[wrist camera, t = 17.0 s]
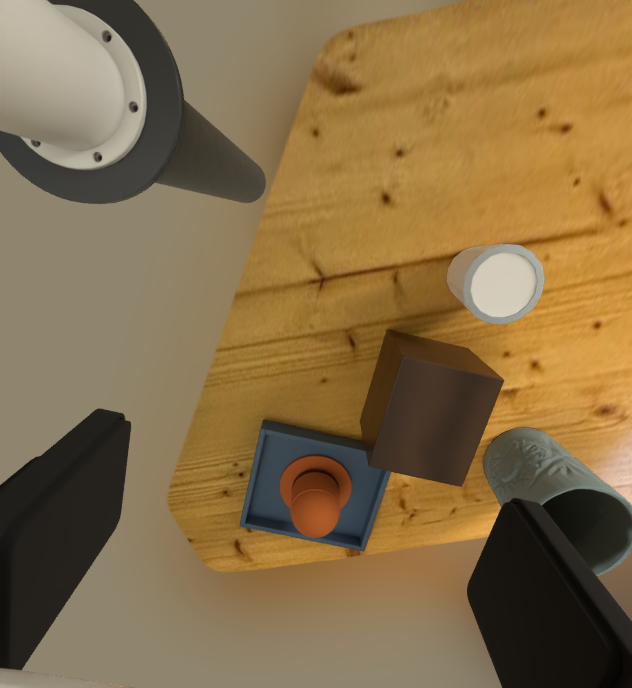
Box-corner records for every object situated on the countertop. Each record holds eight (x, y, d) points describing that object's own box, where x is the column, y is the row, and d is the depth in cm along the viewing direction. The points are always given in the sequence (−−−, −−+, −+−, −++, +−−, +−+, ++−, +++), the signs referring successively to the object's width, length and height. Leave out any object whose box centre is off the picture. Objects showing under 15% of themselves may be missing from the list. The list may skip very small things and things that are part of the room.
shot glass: (438, 245, 40) (461, 250, 34) (508, 235, 40) (546, 238, 33) (441, 312, 42) (464, 329, 36) (509, 303, 42) (544, 319, 35)
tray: (242, 514, 50) (239, 526, 48) (263, 419, 46) (260, 428, 44) (362, 539, 51) (364, 551, 49) (392, 447, 47) (395, 457, 45)
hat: (273, 507, 49) (265, 553, 42) (288, 447, 47) (282, 485, 40) (341, 521, 49) (344, 568, 43) (359, 462, 47) (365, 503, 40)
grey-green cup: (565, 487, 48) (641, 570, 37) (479, 504, 49) (528, 591, 38) (557, 411, 45) (637, 476, 34) (467, 431, 46) (515, 501, 35)
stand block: (359, 421, 46) (368, 467, 38) (386, 329, 43) (403, 356, 34) (436, 437, 47) (462, 487, 38) (468, 348, 44) (504, 379, 35)
